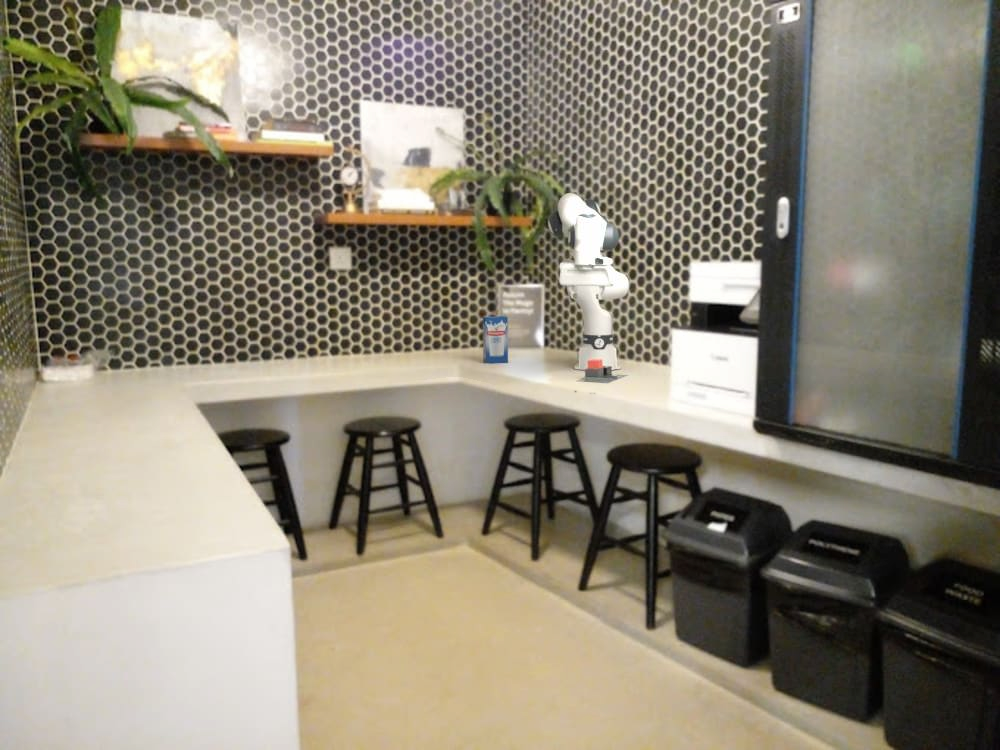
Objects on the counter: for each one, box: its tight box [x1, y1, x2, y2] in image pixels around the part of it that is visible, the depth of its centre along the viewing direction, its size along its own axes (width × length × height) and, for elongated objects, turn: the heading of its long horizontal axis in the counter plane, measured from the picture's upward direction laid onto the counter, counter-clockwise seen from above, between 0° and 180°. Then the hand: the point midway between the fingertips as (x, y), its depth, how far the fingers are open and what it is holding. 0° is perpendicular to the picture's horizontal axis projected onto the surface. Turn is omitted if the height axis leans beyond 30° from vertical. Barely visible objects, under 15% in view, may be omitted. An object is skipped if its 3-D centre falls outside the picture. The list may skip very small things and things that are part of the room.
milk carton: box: [482, 315, 509, 364], centre depth 329 cm, size 10×6×20 cm, turn 101°
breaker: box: [584, 368, 603, 378], centre depth 268 cm, size 5×5×4 cm
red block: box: [588, 359, 603, 369], centre depth 267 cm, size 4×4×3 cm
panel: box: [576, 366, 629, 384], centre depth 270 cm, size 22×12×5 cm, turn 151°
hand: (586, 298), depth 270 cm, fingers open, 8 cm apart
